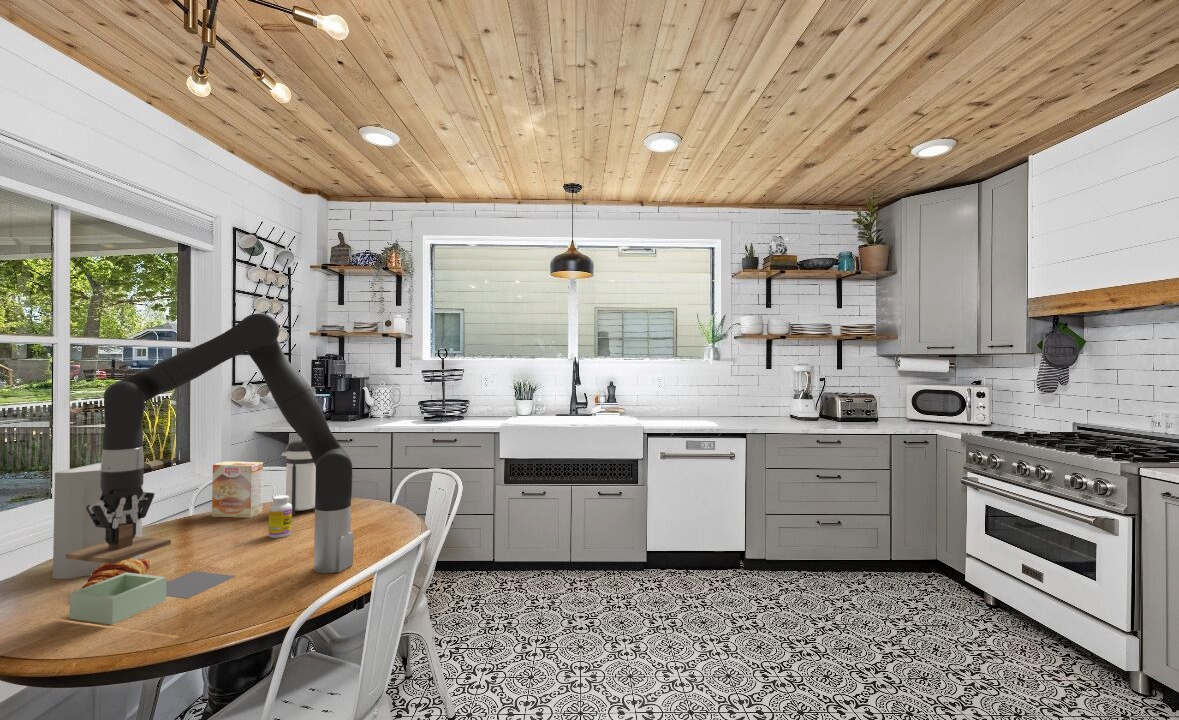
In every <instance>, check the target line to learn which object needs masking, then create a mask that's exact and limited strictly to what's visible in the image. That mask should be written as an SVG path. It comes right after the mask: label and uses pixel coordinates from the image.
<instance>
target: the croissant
mask: <svg viewBox="0 0 1179 720" xmlns="http://www.w3.org/2000/svg"><path fill="white" fill-rule="evenodd" d="M151 565H152V560H151V559H145V558H142V557H141V558H139V559H133V558H129V559H126V560H123V561H120V562H117V563H114V564H108V563H104V564H102V565H100V566H99V567H98V568H97V569H95V570H94V571H93V573H92V575H90V576H89V578H88V579H87V581H86V583H84V585H83V586H82V587H81V589H83V588H85V587H88V586H91V585H94V584H96V583H99V582H102V581H104V580H107V579H110V578H113V577H115V576H118V575H121V574H124V573H126V572H127V573H136V574H144V575H146V573H147V571H148V570H149V569H150V567H151Z"/></svg>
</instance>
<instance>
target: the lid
mask: <svg viewBox="0 0 1179 720" xmlns="http://www.w3.org/2000/svg"><path fill="white" fill-rule="evenodd" d="M117 528H118V543H117V544H114V545H110V544H108V543H107V542H105V543H101V544H98V545H95V546H91V547H88V548H85V549H81V550H78V551H75V552H71V553H68V554H66V559H74V560H82V561H91V562H99V563H108V564H114V563H117V562H120V561H123V560H126V559H129V558H132V557H135V556H138V555H141V556H142V555H143V554H146V553H150V552H152V551H154V550H158V549H160V548H163V547H166V546H169V545H171V543H172V542H171V539H163V538H154V537H153V538H152V537H146V536H145V537H144V536H143V537H136V536H134V539H133V524H129V523H121V524H118V527H117Z"/></svg>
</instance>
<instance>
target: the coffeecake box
mask: <svg viewBox="0 0 1179 720" xmlns="http://www.w3.org/2000/svg"><path fill="white" fill-rule="evenodd" d="M263 475H264V462H262V461H259V462H258V461H232V460H231V461H229V460H228V461H227V460H225V461H222V462H217V463H213V464H212V490H211V491H212V493H211V517H214V518H215V517H216V518H245V519H247V518H249V519H251V518H253V517H255V516H257V515H258V516H259V515H260V514H262V513H263V491H264V490H263V488H264V487H263V485H264V484H263V483H264V480H263Z"/></svg>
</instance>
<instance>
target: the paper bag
mask: <svg viewBox="0 0 1179 720" xmlns="http://www.w3.org/2000/svg"><path fill="white" fill-rule="evenodd" d="M100 483H101V462H97V463H92V464H87V465H83V466H78V467H74V468H69V469H64V470H60V471H59V470H58V471H55V472H54V493H53V494H54V500H53V501H54V503H53V504H54V505H53V508H54V509H53V545H52V546H53V547H52V548H53V549H52V551H53V553H52V554H53V558H52V559H53V560H52V561H53V563H52V579H53V580H54V579H58V580H59V579H61V580H62V579H63V580H64V579H67V580H68V579H75V578H79V577H80V578H81V577H84V576H85V575H86V576H91V575H90V574H92V573H93V571H94V570H95V569H97V568H98V567H99V566H100V565H102V564H104V563H99V562H91V561H82V560H74V559H66V554H68V553H71V552H75V551H78V550H81V549H85V548H88V547H91V546H95V545H98V544H101V543H105V542H106V541H105V536H106V529H105V528H100V527H96V526H95V524H94V523H93V521H92V519H91V517H90V515H89V513H88V512H87V510H86V507H87V506H88V505H93V504H95V503H97V502H98V501H100V497H101V495H102V490H101V488H100ZM143 485H144V484H143ZM143 485H142V486H141V488H142V489H143V488H144V487H143ZM138 502H139V500H138ZM138 502H137V504H138ZM103 508H104V510H103V512H104V514H105V509H106V508H105V507H104V506H103ZM112 513H113V514H115V512H112ZM121 523H126V522H125V518H124V514H123V513H122V516H121V517H120V518H119V523H118V524H121ZM142 531H143V518H141V519H139V520H138V521H137V522H136V535H135V536H136V537H142V535H143V532H142ZM132 558H133V559H139V558H142V554H141V555H138V556H135V557H132Z"/></svg>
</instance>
